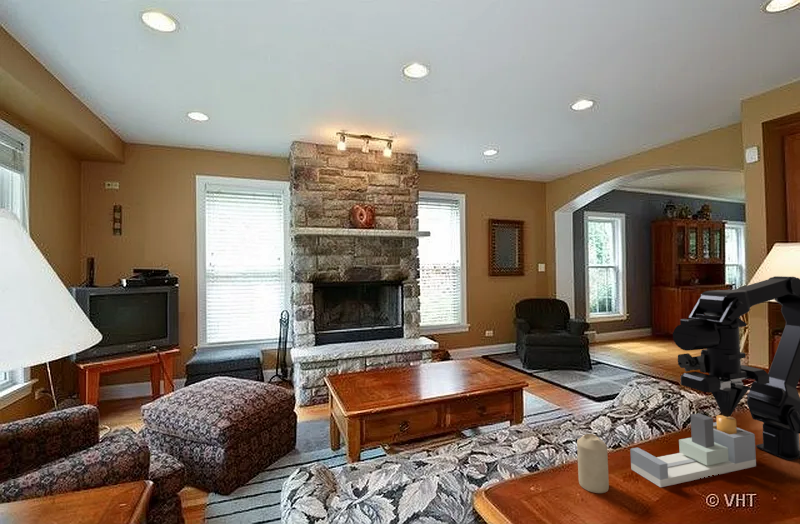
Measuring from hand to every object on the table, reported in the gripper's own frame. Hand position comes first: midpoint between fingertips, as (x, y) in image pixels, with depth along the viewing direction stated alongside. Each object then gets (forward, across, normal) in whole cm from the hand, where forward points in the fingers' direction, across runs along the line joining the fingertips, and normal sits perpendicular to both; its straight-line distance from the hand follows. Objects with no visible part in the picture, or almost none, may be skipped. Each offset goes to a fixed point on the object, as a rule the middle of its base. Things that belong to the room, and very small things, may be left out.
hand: (726, 416), depth 84 cm
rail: (+10, +10, 0) cm, 14 cm away
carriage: (+8, +7, 0) cm, 11 cm away
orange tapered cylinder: (+6, 0, 0) cm, 6 cm away
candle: (+10, +35, -1) cm, 37 cm away
